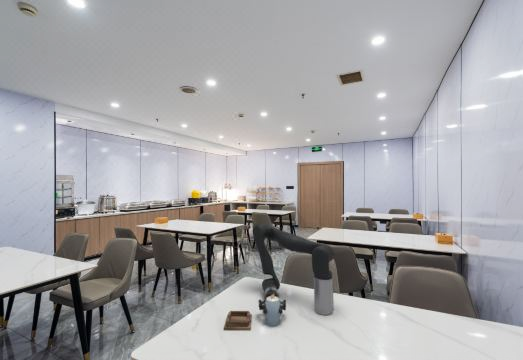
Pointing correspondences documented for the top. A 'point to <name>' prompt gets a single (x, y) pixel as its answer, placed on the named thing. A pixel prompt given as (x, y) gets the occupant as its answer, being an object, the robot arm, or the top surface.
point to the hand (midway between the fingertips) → (272, 312)
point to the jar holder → (238, 320)
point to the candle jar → (272, 311)
